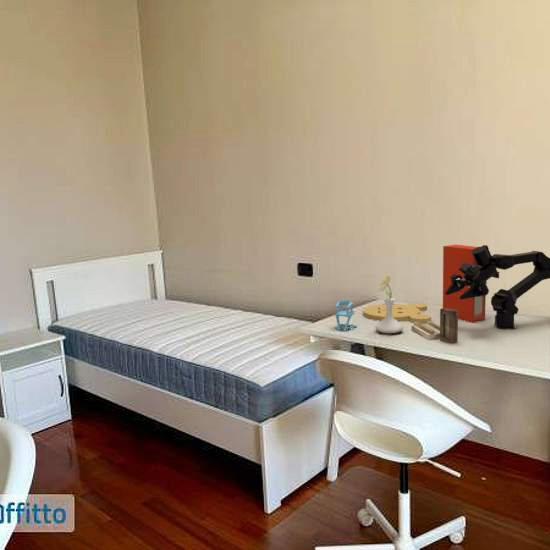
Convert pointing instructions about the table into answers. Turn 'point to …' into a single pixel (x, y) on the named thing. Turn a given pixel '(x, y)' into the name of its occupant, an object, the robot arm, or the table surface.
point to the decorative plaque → (399, 312)
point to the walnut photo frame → (449, 325)
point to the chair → (344, 314)
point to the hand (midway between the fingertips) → (452, 296)
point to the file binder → (467, 307)
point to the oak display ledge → (427, 330)
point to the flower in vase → (388, 311)
